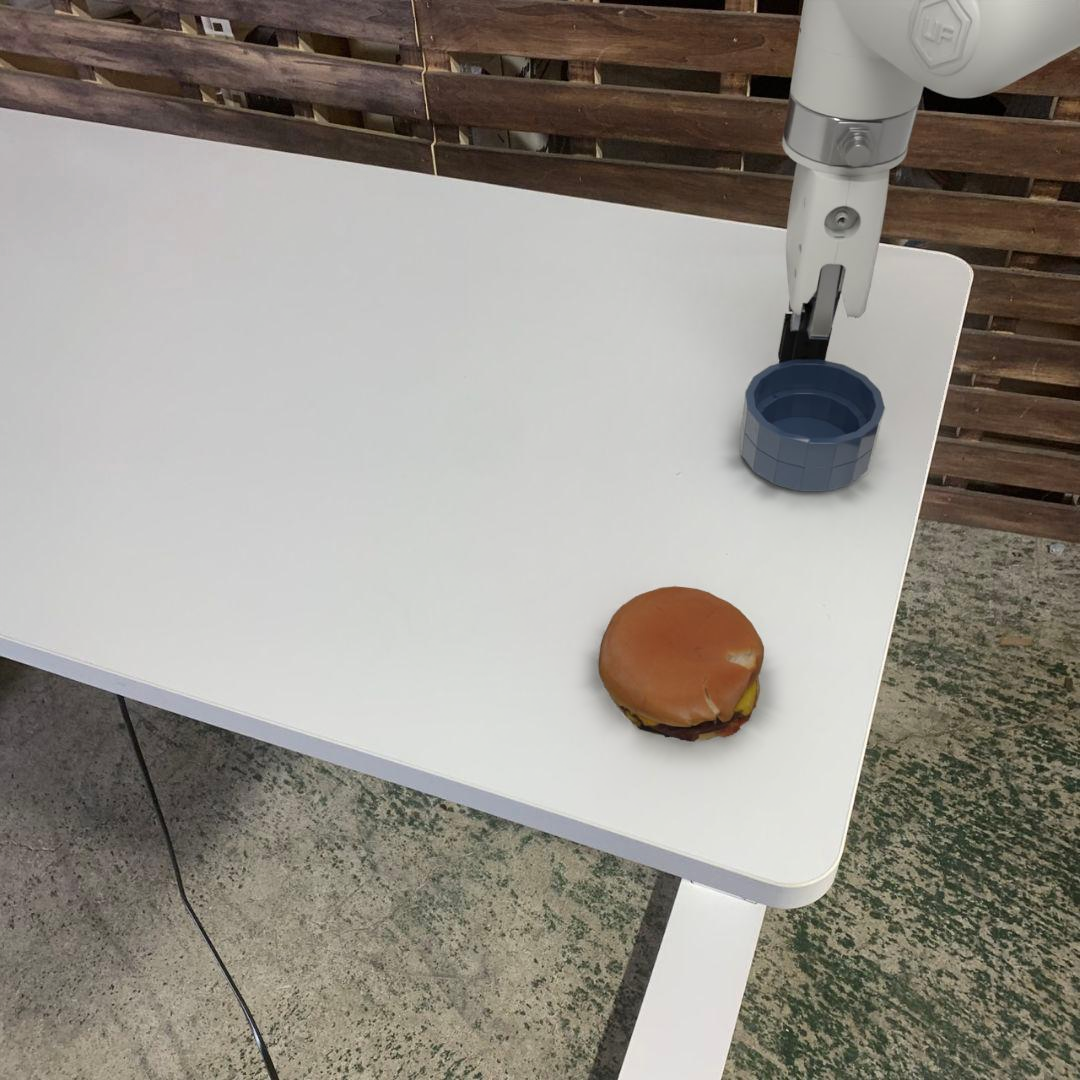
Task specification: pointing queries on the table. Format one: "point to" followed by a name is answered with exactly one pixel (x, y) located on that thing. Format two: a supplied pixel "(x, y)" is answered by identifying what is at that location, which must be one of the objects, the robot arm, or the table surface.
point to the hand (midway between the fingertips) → (799, 364)
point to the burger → (682, 663)
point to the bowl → (810, 424)
